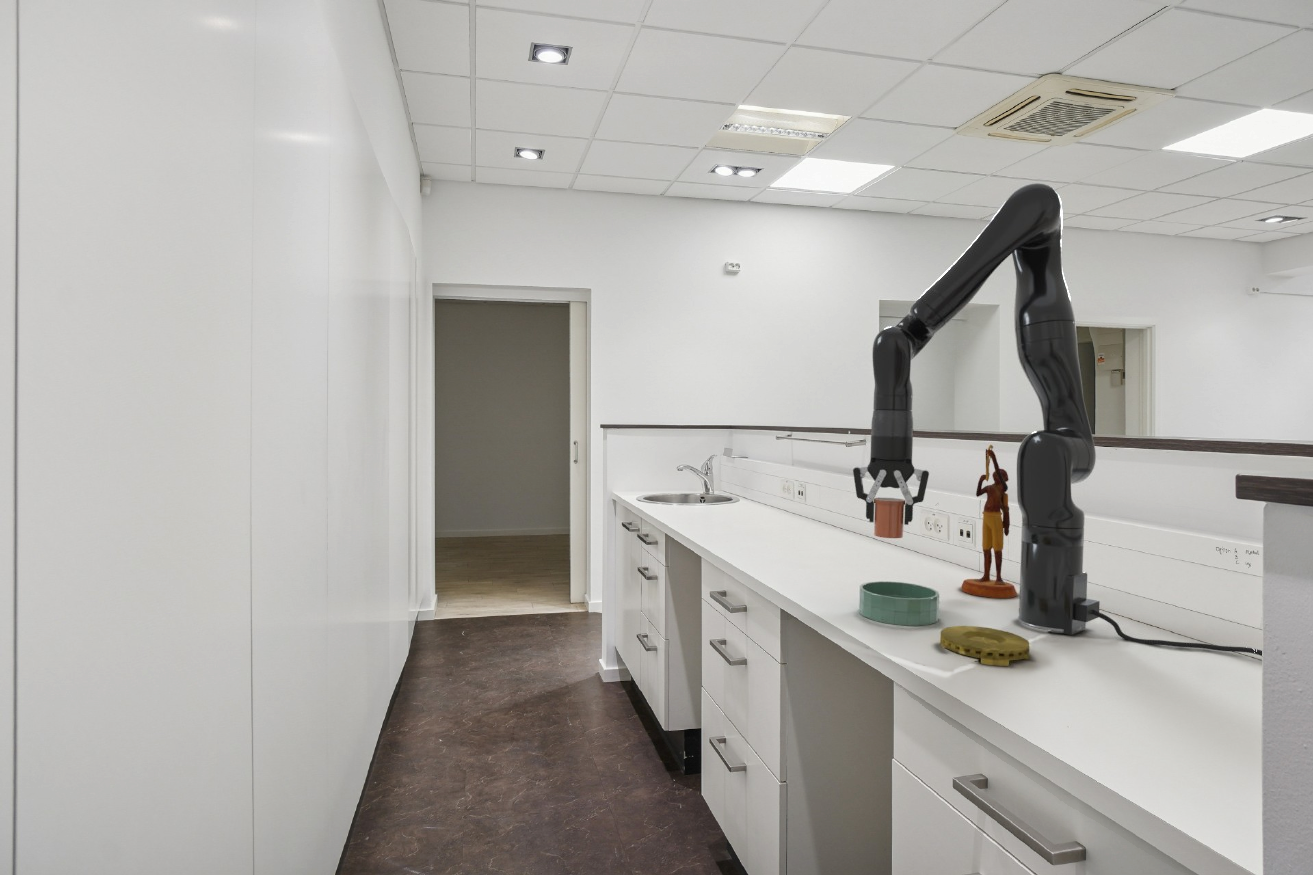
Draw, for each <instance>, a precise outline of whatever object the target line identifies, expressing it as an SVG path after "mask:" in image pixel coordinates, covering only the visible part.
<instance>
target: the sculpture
mask: <svg viewBox="0 0 1313 875" xmlns="http://www.w3.org/2000/svg"><path fill="white" fill-rule="evenodd" d="M993 449H994V446H993V445H992V444H989V446H988V448H985V474H981V475H980V477H979V479H978V483H977V487H976V492H975V496H976V497H977V498H978V497H981V496H983V495H984V494H986V501H985V503H984V506H983V511H982V513H981V514H982V528H981V529H982V531H981V533H982V536H981V537H982V538H981V540H982V541H981V542H982V543H981V547H982V552H983V575H982V576H981V578H967V579H964V580H963V582H962V583H961V586H960V588H961V591H962V592H964V593H967V594H969V595H973V596H979V597H985V598H992V599H1010V598H1011V599H1012V598H1015V597H1016V596H1018V592H1017V589H1016V587H1015V586H1014V584H1013V583H1010V582H1006V581H1004V580H1003V578H1002V566H1003V550H1004V536H1005V537H1008V536H1009V534H1010V526H1011V520H1010V506H1009V494H1008V493H1007V491H1008V489H1009V486H1008V484H1007V482H1009V480H1010V479H1009V475H1008V472H1007V470H1005V469H1003V468H1001V467H1000V465H999V463H998V459H997V455H996V454H995V452H994V450H993ZM991 461H992V465H993V468H994V471H993V472H992V479H993V483H992V484H989V485H988V484H987V485H985V486H983V483H984V481H986V482H987V483H988V482H989V479H990V463H991ZM992 549H993V553H992ZM992 554H994V563H995V574H996V575H995V576H996V578H995V579H991V567H992V564H993V563H992V562H993V555H992Z"/></svg>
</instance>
